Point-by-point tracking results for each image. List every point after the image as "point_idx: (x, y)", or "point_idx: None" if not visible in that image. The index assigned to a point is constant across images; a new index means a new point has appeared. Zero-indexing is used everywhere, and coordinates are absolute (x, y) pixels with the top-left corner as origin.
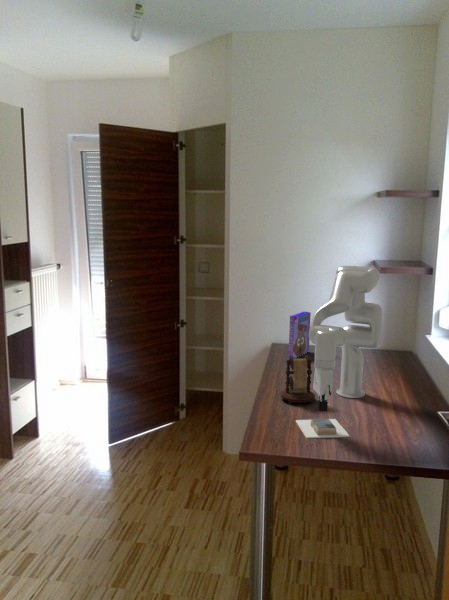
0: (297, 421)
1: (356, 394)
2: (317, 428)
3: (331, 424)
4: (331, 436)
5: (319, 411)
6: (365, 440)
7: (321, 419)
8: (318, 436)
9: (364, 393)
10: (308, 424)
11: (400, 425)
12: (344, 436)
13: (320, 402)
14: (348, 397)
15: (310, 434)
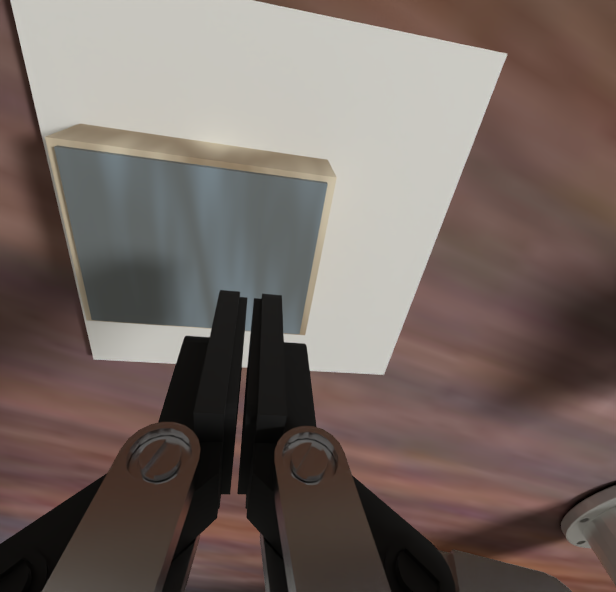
0: (465, 59)
1: (587, 526)
2: (57, 140)
3: (164, 313)
4: (68, 242)
5: (219, 294)
6: (51, 407)
7: (296, 276)
8: (41, 119)
9: (573, 544)
10: (353, 149)
11: (243, 544)
12: (90, 328)
13: (197, 411)
14: (595, 494)
15: (91, 48)
